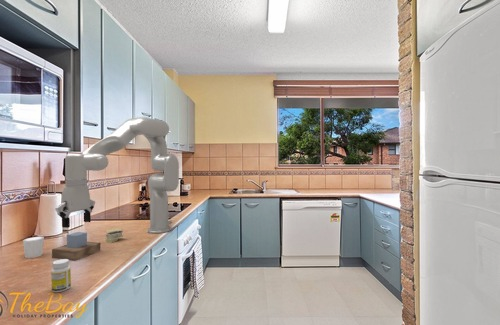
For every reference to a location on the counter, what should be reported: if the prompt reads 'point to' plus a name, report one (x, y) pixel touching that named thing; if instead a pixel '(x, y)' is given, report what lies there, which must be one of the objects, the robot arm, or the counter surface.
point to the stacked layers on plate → (113, 235)
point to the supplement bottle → (61, 275)
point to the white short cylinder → (33, 247)
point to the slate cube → (76, 239)
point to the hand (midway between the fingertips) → (77, 224)
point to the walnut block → (75, 251)
